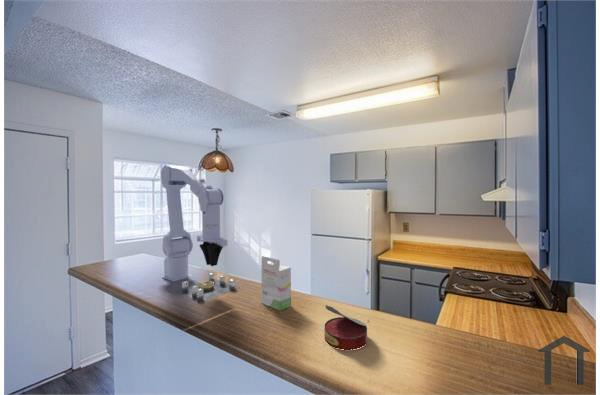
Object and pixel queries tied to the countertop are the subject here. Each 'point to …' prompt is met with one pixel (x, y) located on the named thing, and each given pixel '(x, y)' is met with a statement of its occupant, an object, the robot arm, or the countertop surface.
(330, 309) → the canned food
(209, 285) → the brass nut
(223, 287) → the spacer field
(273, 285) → the ink box
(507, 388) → the countertop surface
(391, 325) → the countertop surface
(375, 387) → the countertop surface
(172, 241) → the robot arm
